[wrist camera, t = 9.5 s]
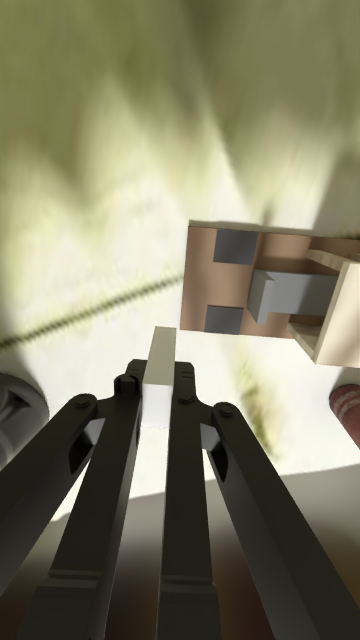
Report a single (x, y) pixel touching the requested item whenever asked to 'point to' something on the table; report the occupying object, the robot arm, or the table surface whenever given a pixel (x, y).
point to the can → (348, 409)
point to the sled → (289, 293)
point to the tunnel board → (276, 255)
